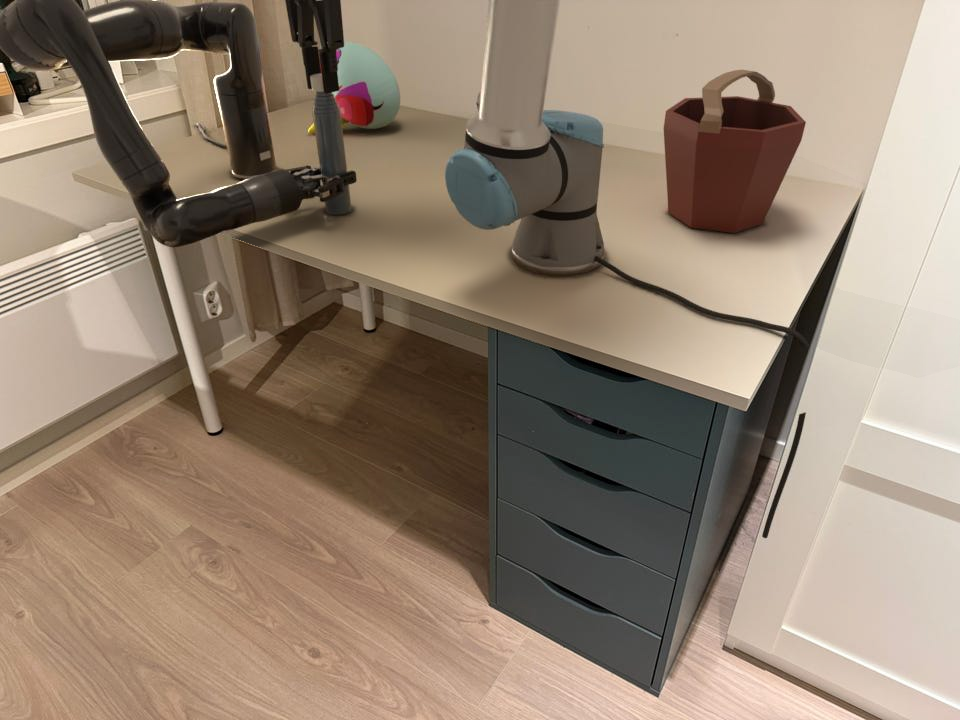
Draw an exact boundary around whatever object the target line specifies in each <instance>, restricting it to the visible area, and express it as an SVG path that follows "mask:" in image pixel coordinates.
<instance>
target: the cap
mask: <svg viewBox="0 0 960 720" xmlns="http://www.w3.org/2000/svg"><path fill="white" fill-rule="evenodd" d="M310 79H311V87H312V89H311V90H312V91H314V92H316V91H318V92H324V88H323V80H322V73H321V74H314V75H311V76H310Z"/></svg>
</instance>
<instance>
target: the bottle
mask: <svg viewBox="0 0 960 720" xmlns="http://www.w3.org/2000/svg"><path fill="white" fill-rule="evenodd" d="M312 105H313V106H312V110H311V111H312V119H313V120H312V121H313V124H314V128H315V133H314V135H315V141H316V148H317V149H316V150H317V155H318V163H319V169H320V171H321V175H322V174H324V175H326V176H333V175H338V174H341V173H344V172H348V166H347V165H348V164H347V157H346V149H345V140H344V139H345V138H344V131H343V125H342V122H341V113H340V109H339V105H338V104H337V101H336V98H335V97H334V94H333V93H332V92H331V93H324V92H318V91H315V94H314V98H313V103H312ZM332 181H333V180H332ZM329 182H331V181H329ZM329 182H328V183H329ZM321 185H323V181H322V180H321ZM324 208H325V212H326V213H327V214H329V215H332V216H341V215H346V214H349V213H350V212H351V211H352V199H351V192H350V184H349V185H346V186H344V193H342V194H340V195H338V196H336V197H334V198H332V199H330V200H328V201H326V202H324Z"/></svg>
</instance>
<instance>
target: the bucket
mask: <svg viewBox="0 0 960 720" xmlns="http://www.w3.org/2000/svg"><path fill="white" fill-rule="evenodd" d="M746 77H747V78H748V79H749V80H750V81H751V82H752V83H754V84H755V85H756V88H757V91H758V98H757V99H754V98H750V97H744V96H739V95H736V96H733V95H732V96H731V95H730V96H722V92H724V91H725V90H726V89H727V88H728V87H729V86H730V85H732V84H734V83H735V82H737V81H738V80H740V79H743V78H746ZM701 96H702V97H685V98H683V99H682V100H680V101H679V102H677V103H676V104H674V105H672V106H670V107H669V108H668V109H667V110H665V115H664V122H663V143H664V156H665V157H664V159H665V161H664V162H665V177H666V179H665V180H666V192H667V193H666V194H667V196H666V197H667V212H668V214H670V215H671V216H672V217H674V218H676V219H677V220H679V221H680V222H681V223H683V224H684V225H686V226H687V227H689V228H691V229H698V230H707V231H715V232H721V233H732V234H735V233H739V232H742V231H745V230H749V229H751V228H754V227H757V226H760V225H762V224H764V222H765V219H766V218H767V215H768V213H769V211H770V209H771V207H772V205H773V202H774V201H775V198H776V196H777V195H778V192H779V189H780V187H781V185H782V183H783V181H784V179H785V177H786V175H787V173H788V170H789V168H790V167H791V164H792V162H793V159H794V158H795V155H796V153H797V151H798V150H799V149H798V148H799V147H800V145H801V142H802V139H803V135H804V132H805V128H806V125H807V124H806V120H805V119H804V118H803V117H802V116H801V115H800V114H799V113H798V112H797V111H796V110H795V109H794V108H793V107H792V106H791V105H787V104H781V103H776V102H774V101H775V98H776V92H775V88H774V83H773V82H772V81H771V80H769V79H768V78H767V77H766V76H765V75H763V74H761V73H760V72H758V71H755V70H748V69H735V70H732V71H727V72H724V73H722V74H720V75H717V76H716V77H714V78H713V79H711V80H709V81H708V82H707V83H706V84H705V85H704V86H703V87H702V88H701Z"/></svg>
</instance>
